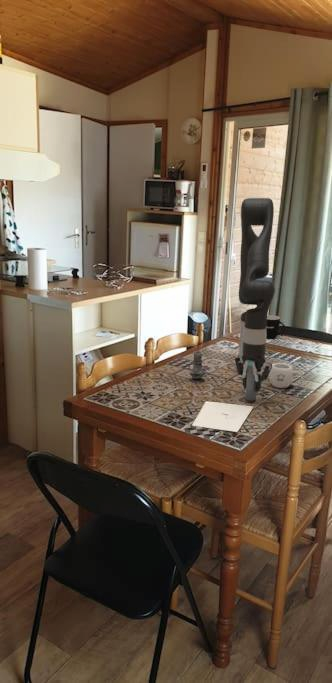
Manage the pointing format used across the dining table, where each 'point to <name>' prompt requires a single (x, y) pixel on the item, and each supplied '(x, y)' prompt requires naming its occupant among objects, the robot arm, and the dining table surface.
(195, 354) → the weathered grey finial
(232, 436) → the dining table surface
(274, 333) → the mug
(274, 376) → the mug
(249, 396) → the marker
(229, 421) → the paper sheet
